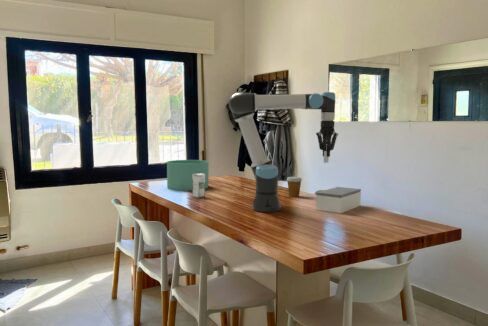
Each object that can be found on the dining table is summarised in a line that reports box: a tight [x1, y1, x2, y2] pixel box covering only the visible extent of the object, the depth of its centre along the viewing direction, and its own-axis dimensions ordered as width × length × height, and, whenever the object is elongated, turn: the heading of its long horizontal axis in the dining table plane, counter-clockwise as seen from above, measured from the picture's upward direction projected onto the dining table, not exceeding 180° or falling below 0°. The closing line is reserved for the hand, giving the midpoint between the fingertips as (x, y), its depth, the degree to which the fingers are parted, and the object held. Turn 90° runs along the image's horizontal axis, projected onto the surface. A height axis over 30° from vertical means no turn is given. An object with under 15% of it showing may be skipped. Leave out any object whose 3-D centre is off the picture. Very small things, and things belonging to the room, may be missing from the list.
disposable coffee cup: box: [286, 176, 303, 198], centre depth 260 cm, size 10×10×12 cm
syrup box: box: [191, 173, 206, 199], centre depth 256 cm, size 6×6×14 cm
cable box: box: [315, 191, 362, 214], centre depth 224 cm, size 26×14×8 cm, turn 142°
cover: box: [315, 186, 362, 197], centre depth 224 cm, size 26×14×1 cm, turn 142°
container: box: [166, 159, 210, 191], centre depth 296 cm, size 30×30×19 cm
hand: (326, 162), depth 231 cm, fingers closed
